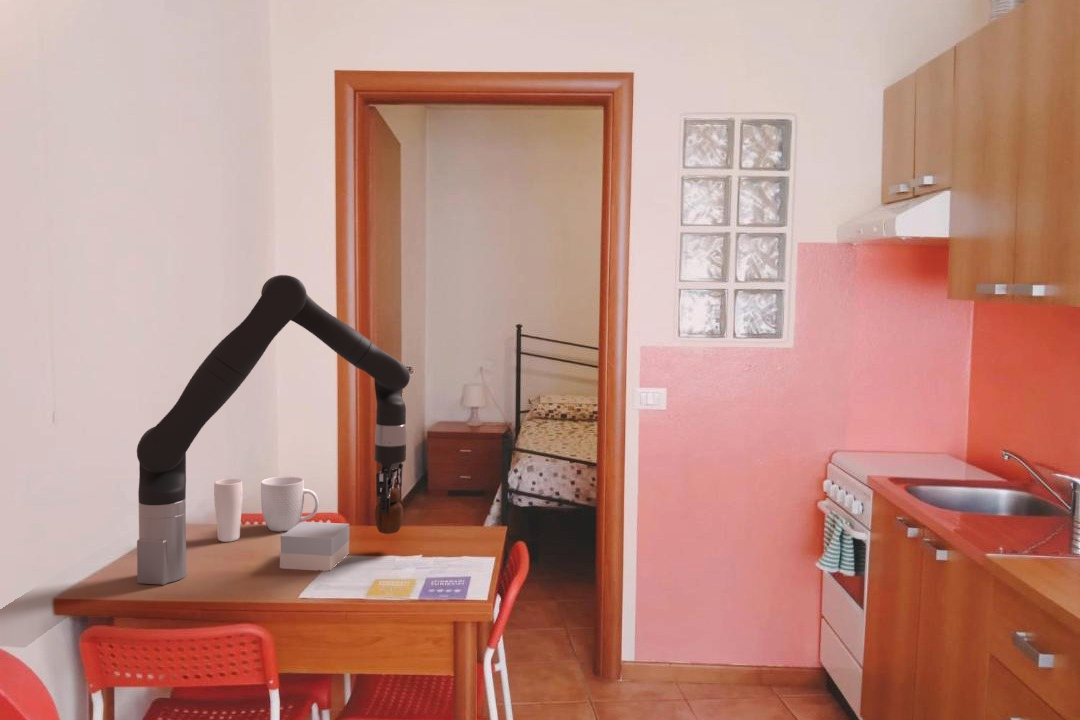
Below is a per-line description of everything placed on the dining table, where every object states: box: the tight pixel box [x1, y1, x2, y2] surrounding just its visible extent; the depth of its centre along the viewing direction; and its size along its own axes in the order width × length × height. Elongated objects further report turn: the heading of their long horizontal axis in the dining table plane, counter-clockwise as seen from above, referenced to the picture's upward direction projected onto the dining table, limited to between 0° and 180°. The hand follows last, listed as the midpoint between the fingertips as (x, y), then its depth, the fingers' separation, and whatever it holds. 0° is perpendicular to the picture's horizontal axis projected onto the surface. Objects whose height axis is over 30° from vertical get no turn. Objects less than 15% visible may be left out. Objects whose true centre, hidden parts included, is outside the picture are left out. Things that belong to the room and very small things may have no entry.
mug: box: [260, 475, 320, 533], centre depth 206 cm, size 15×11×13 cm
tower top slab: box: [280, 521, 350, 556], centre depth 181 cm, size 12×12×4 cm
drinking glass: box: [213, 478, 244, 543], centre depth 195 cm, size 7×7×15 cm
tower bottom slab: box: [279, 540, 350, 572], centre depth 181 cm, size 12×12×4 cm
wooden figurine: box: [374, 481, 404, 535], centre depth 188 cm, size 7×6×15 cm
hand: (389, 509), depth 188 cm, fingers closed on wooden figurine, 6 cm apart
